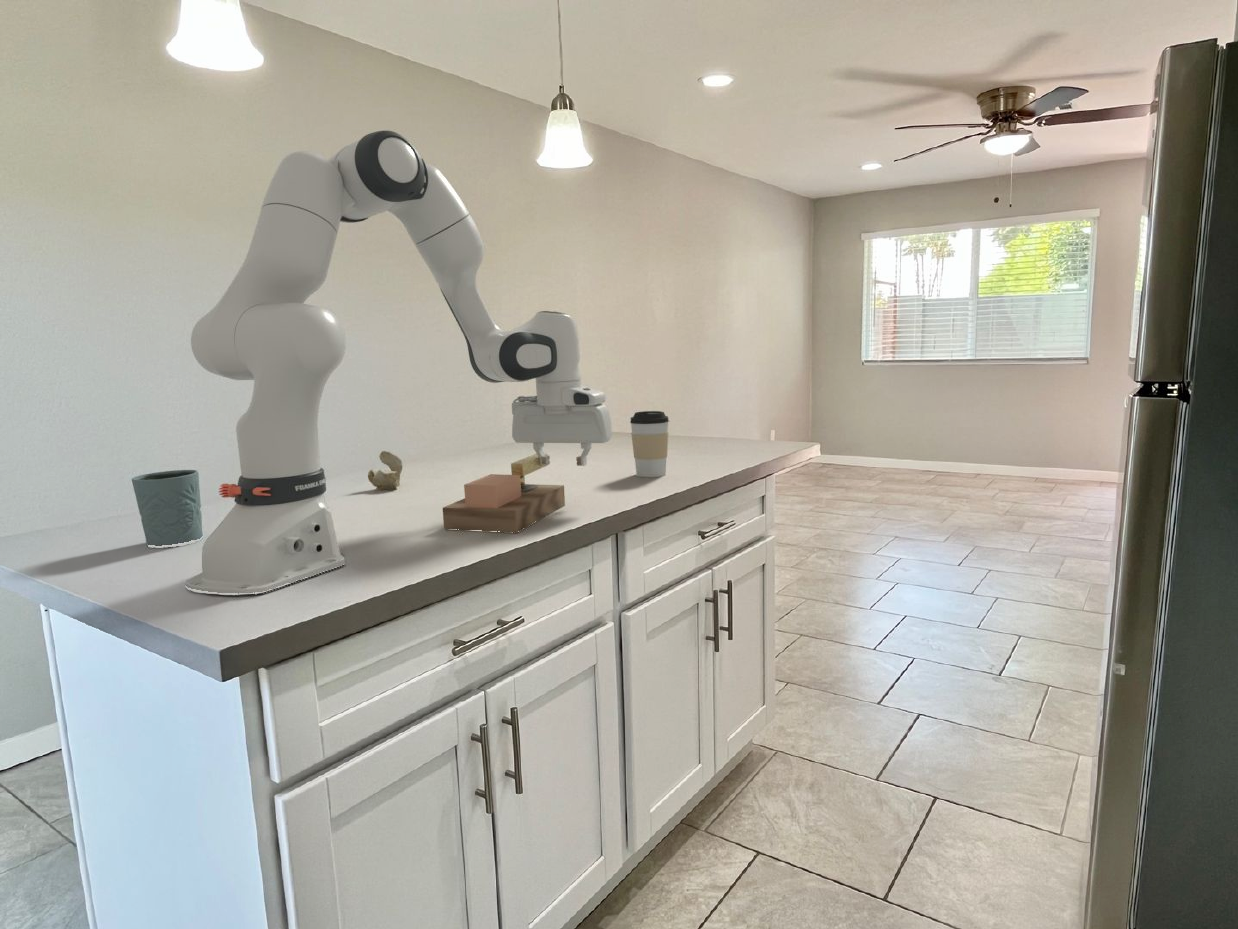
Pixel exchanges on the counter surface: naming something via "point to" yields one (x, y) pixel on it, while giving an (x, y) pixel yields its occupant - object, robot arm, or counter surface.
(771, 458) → the counter surface
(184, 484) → the green embossed plant pot
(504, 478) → the salmon orange block
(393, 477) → the tan squirrel figurine
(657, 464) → the coffee cup
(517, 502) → the base
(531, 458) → the yellow lever handle
